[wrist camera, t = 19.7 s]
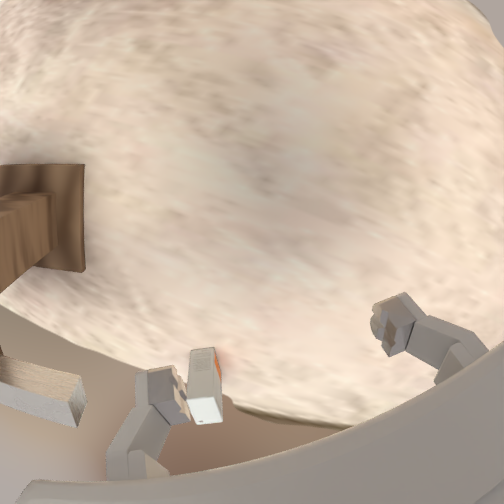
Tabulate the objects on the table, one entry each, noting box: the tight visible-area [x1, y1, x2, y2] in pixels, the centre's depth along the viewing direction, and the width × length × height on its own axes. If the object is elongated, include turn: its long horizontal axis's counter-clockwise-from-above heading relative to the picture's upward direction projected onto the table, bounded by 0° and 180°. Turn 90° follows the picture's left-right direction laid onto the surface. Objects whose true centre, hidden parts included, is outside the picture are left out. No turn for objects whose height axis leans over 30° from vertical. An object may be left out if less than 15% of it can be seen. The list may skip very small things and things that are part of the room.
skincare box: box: [186, 347, 223, 425], centre depth 46 cm, size 6×4×12 cm
